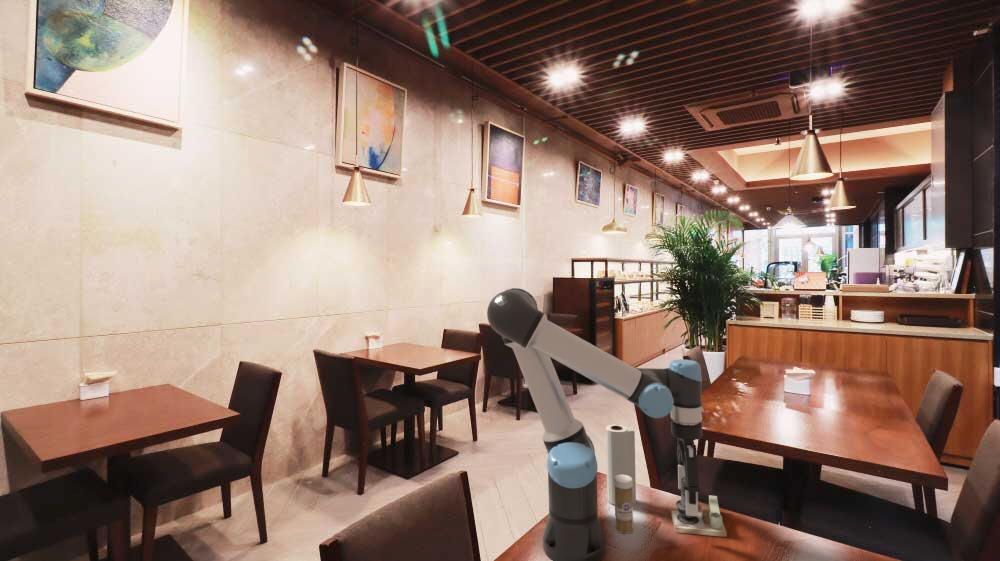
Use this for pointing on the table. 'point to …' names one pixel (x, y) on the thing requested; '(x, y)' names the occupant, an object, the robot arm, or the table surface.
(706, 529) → the board
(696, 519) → the grey stone chess piece
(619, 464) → the paper towel roll
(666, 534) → the table surface
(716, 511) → the leg
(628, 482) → the sprinkles bottle
